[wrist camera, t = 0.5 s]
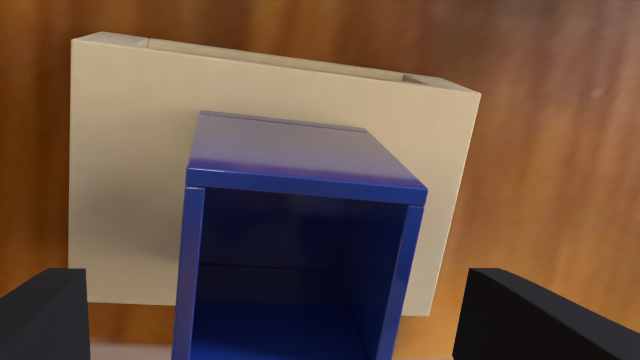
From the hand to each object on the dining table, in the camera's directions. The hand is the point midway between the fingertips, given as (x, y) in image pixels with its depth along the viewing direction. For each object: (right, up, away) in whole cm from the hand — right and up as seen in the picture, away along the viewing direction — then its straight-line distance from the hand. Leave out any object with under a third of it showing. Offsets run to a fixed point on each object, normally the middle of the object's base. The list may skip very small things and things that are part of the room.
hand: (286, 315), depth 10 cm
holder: (-1, +2, +7) cm, 7 cm away
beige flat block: (-1, +3, +10) cm, 11 cm away
